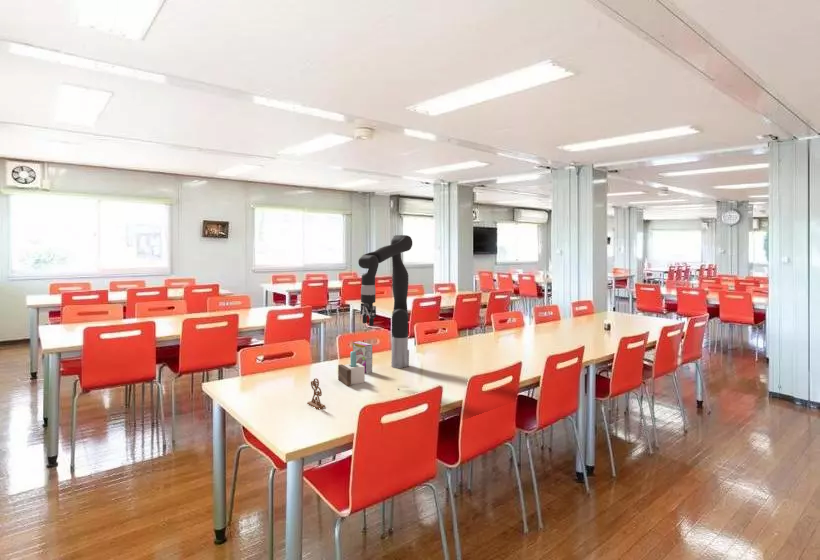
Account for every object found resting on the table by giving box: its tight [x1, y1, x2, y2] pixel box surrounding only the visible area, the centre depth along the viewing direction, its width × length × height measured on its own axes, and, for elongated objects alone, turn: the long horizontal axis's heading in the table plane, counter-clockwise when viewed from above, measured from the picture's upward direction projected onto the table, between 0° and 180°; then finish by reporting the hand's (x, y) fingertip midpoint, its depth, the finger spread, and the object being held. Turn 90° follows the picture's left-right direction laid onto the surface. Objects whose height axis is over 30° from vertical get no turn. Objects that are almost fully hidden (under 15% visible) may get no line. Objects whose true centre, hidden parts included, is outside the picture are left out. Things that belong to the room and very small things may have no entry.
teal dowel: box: [349, 350, 356, 367], centre depth 236 cm, size 3×3×12 cm
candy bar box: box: [352, 340, 373, 374], centre depth 257 cm, size 11×5×16 cm, turn 47°
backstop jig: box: [337, 363, 352, 387], centre depth 240 cm, size 26×12×9 cm, turn 119°
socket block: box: [343, 363, 366, 385], centre depth 237 cm, size 8×8×8 cm
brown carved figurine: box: [306, 378, 326, 410], centre depth 203 cm, size 9×4×12 cm, turn 42°
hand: (367, 324), depth 247 cm, fingers open, 8 cm apart
